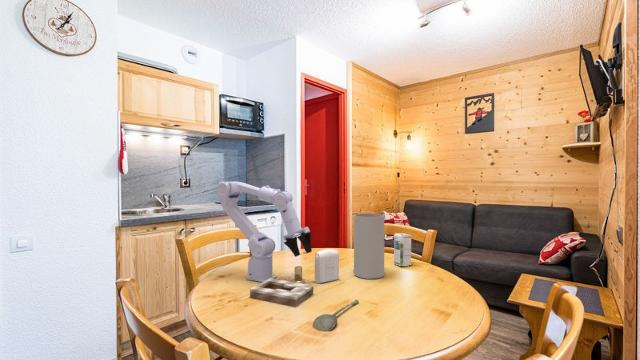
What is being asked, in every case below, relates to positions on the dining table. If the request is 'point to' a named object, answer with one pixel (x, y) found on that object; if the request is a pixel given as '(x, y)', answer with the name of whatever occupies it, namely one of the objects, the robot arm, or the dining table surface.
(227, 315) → the dining table surface
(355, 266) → the cylinder vase
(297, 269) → the brass key peg
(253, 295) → the keyhole board
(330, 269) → the photo printer
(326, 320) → the soupspoon
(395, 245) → the drink can
